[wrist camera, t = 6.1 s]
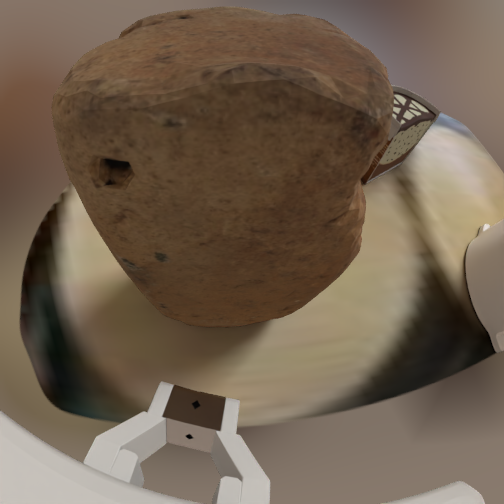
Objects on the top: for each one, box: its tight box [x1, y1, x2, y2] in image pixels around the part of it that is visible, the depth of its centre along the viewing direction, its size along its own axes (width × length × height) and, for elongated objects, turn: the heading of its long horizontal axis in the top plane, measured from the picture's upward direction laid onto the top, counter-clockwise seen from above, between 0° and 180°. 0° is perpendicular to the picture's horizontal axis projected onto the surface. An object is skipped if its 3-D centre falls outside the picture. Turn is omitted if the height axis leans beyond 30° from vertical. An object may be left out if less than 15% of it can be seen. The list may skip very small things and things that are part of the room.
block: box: [52, 7, 394, 327], centre depth 14 cm, size 11×8×20 cm
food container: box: [361, 85, 441, 185], centre depth 28 cm, size 12×6×10 cm, turn 124°
